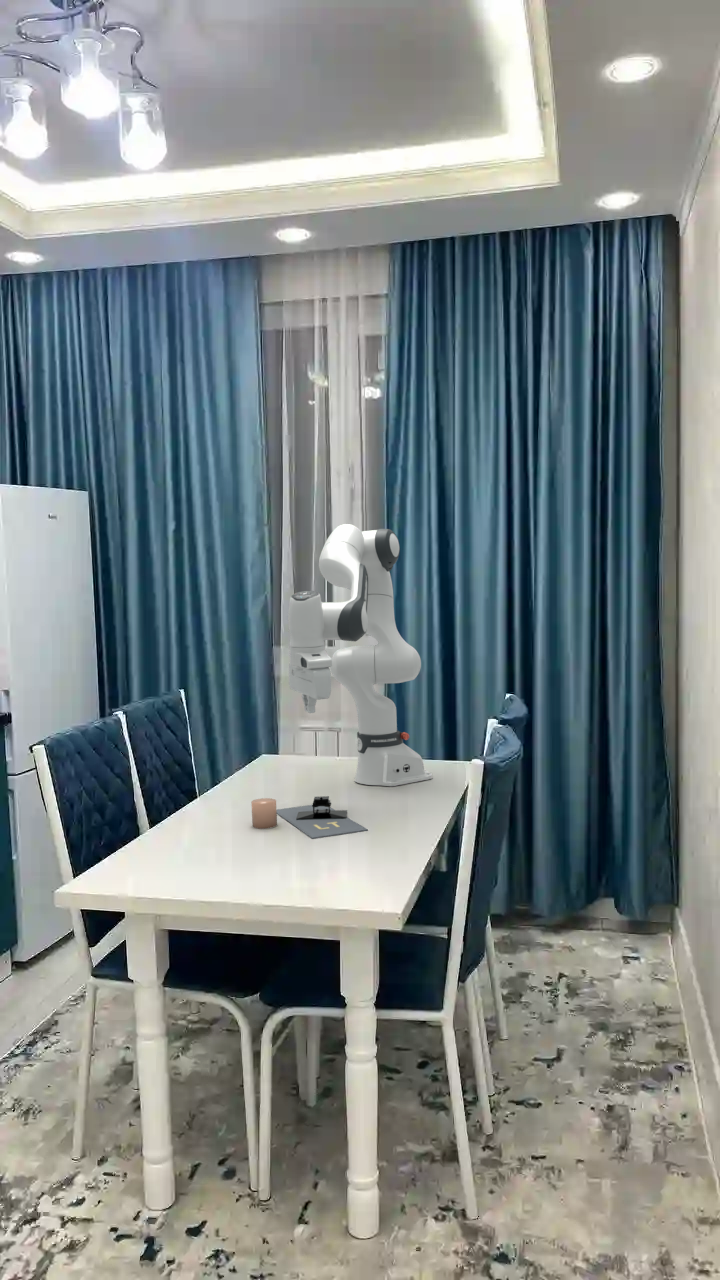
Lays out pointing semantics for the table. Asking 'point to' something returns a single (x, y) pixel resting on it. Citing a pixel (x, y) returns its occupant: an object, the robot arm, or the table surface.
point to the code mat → (319, 823)
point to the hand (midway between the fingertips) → (309, 712)
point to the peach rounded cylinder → (264, 813)
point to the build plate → (322, 811)
